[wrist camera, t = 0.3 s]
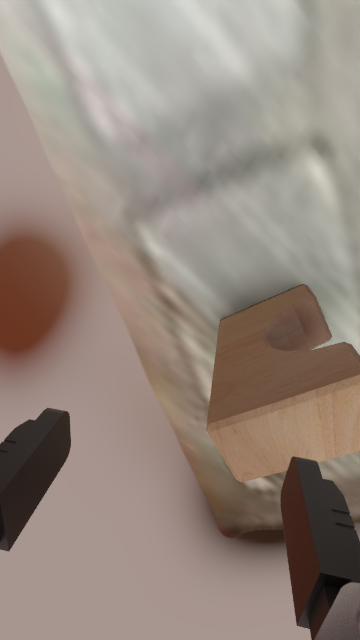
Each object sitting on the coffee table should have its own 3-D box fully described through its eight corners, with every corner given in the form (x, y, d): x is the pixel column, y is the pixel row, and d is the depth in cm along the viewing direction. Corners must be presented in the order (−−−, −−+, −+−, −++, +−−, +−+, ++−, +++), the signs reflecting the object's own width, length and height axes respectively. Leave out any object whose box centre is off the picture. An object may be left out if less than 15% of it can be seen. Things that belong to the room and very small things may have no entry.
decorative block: (306, 281, 37) (376, 373, 18) (323, 324, 38) (404, 447, 20) (217, 318, 40) (202, 426, 22) (236, 356, 41) (236, 487, 23)
